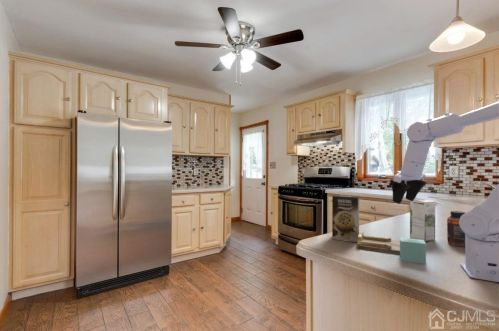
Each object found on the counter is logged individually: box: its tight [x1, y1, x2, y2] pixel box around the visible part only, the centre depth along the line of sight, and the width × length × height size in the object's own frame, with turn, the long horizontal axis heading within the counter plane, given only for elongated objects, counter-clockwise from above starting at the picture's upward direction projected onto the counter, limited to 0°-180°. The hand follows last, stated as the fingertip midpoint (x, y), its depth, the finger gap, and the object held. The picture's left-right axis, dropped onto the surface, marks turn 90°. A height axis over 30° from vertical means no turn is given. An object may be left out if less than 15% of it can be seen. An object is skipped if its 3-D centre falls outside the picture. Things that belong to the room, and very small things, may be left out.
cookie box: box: [331, 194, 360, 243], centre depth 94 cm, size 9×6×16 cm
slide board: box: [357, 230, 400, 255], centre depth 84 cm, size 12×18×4 cm, turn 61°
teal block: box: [399, 237, 427, 265], centre depth 73 cm, size 4×6×6 cm
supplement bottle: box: [446, 210, 466, 248], centre depth 87 cm, size 6×6×11 cm
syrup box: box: [409, 198, 437, 242], centre depth 93 cm, size 6×6×14 cm
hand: (403, 201), depth 83 cm, fingers open, 7 cm apart
